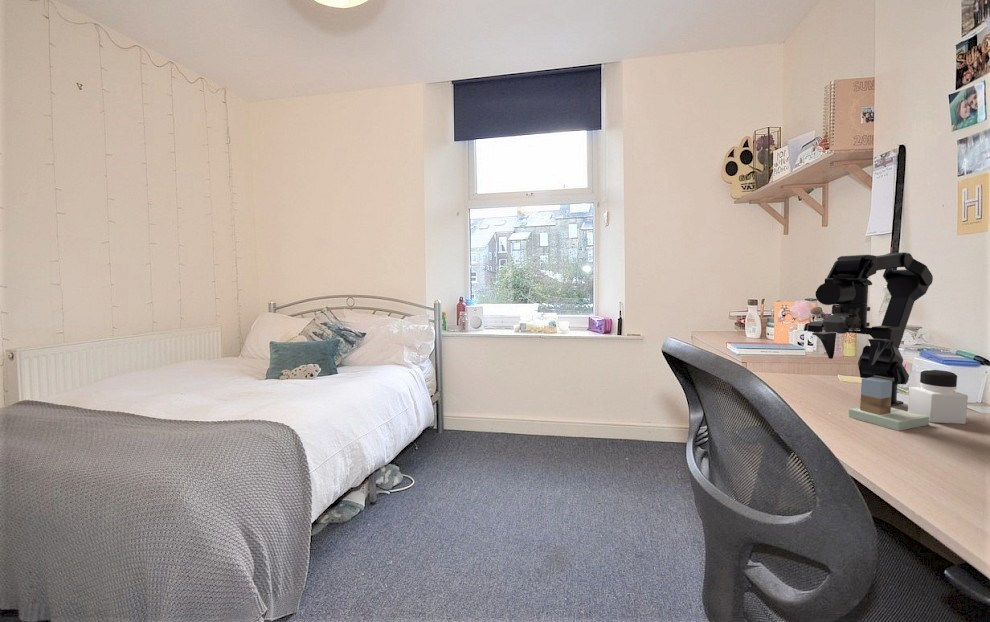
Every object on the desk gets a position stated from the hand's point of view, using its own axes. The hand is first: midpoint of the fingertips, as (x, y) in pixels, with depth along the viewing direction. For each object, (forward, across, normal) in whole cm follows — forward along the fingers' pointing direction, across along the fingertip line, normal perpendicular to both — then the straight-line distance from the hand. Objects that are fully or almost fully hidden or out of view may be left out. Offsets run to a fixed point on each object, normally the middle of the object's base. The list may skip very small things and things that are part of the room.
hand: (850, 361), depth 107 cm
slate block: (+7, +8, -4) cm, 11 cm away
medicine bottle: (+13, +13, +10) cm, 21 cm away
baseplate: (+13, +9, -2) cm, 16 cm away
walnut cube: (+11, +8, -4) cm, 14 cm away
